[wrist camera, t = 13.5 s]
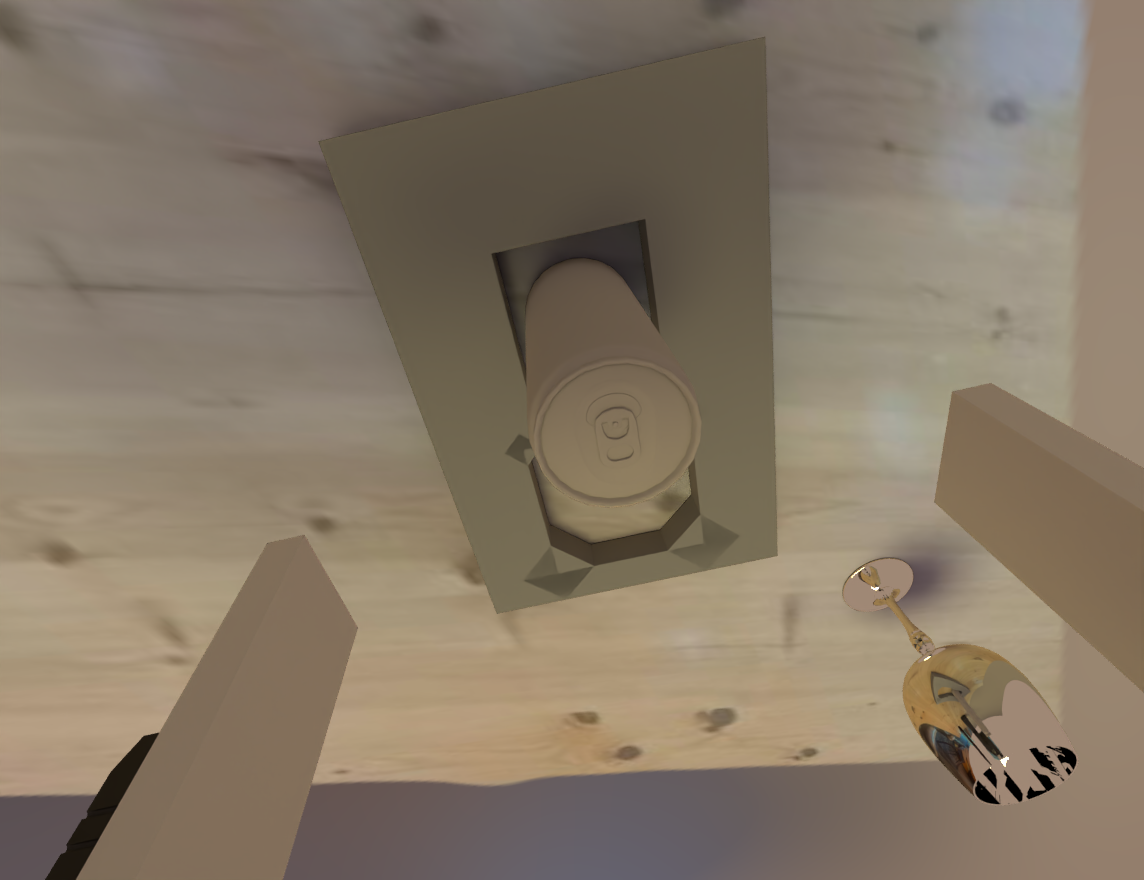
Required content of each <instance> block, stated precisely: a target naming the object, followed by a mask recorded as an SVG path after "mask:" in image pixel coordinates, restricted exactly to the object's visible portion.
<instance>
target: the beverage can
mask: <svg viewBox="0 0 1144 880" xmlns="http://www.w3.org/2000/svg"><path fill="white" fill-rule="evenodd" d="M525 330H526V380H527V422H528V432H529V441H530V444H531V447H532V449H533V451H534V454H535V457H536V459H537V461H538V464H539V466H540V468H541V471H542V473H543V474H544V475H545V476H546V478H547V479H548V480H549V481H550V483H551V484H552V485H553V486H554V487H555V488H556V489H558V490H559V491H561V492H562V493H564V494H565V495H566V496H568V497H569V498H571V499H574V500H577V501H579V502H582V503H584V504H587V505H592V506H600V507H607V508H610V507H622V506H630V505H633V504H637V503H640V502H643V501H646V500H649V499H651V498H653V497H655V496H656V495H658V494H660V493H662V492H664V491H665V490H667V489H668V488H669V487H670V486H672V485H673V484H674V483H675V482H676V481H677V480H678V479H679V478H680V477H682V475H683V474H684V472H685V471H686V470H687V468H688V467H689V465H690V464H691V462H692V461H693V459H694V457H695V454H696V451H697V448H698V446H699V443H700V437H701V424H702V421H701V417H700V413H699V407H698V403H697V399H696V394H695V390H694V388H693V386H692V384H691V382H690V381H689V379H688V377H687V375H686V374H685V372H684V370H683V369H682V367H681V366H680V364H679V363H678V361H677V360H676V358H675V356H674V355H673V353H672V352H671V350H670V349H669V347H668V346H667V344H666V343H665V341H664V340H663V338H662V337H661V335H660V334H659V332H658V331H657V329H656V328H655V326H654V325H653V323H652V322H651V320H650V319H649V317H648V316H647V314H646V312H645V311H644V309H643V308H642V306H641V305H640V303H639V302H638V300H637V299H636V297H635V296H634V294H633V293H632V291H631V290H630V288H629V287H628V285H627V284H626V282H625V281H624V279H623V278H622V277H621V276H620V275H619V274H618V273H617V272H616V271H615V270H614V269H613V268H612V267H610V266H608V265H606V264H604V263H602V262H600V261H597V260H592V259H587V258H576V259H568V260H565V261H563V262H560V263H557V264H555V265H553V266H552V267H550V268H549V269H547V270H546V271H545V272H543V273H542V275H541V276H540V277H539V278H538V279H537V280H536V282H535V283H534V284H533V286H532V288H531V291H530V293H529V295H528V297H527V303H526V309H525Z"/></svg>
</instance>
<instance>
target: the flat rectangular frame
mask: <svg viewBox="0 0 1144 880" xmlns="http://www.w3.org/2000/svg"><path fill="white" fill-rule="evenodd" d="M318 142H319V144H320V147H321V150H322V152H323V155H324V157H325V160H326V163H327V165H328V168H329V171H330V173H331V176H332V179H333V181H334V184H335V187H336V189H337V192H338V195H339V197H340V200H341V202H342V205H343V208H344V210H345V213H346V216H347V218H348V221H349V224H350V226H351V229H352V232H353V234H354V237H355V240H356V242H357V245H358V247H359V250H360V253H361V255H362V258H363V261H364V263H365V266H366V269H367V271H368V274H369V277H370V279H371V282H372V285H373V287H374V290H375V293H376V295H377V298H378V300H379V303H380V306H381V308H382V311H383V314H384V316H385V319H386V322H387V324H388V327H389V330H390V332H391V335H392V338H393V340H394V343H395V345H396V348H397V351H398V353H399V356H400V359H401V361H402V364H403V367H404V369H405V372H406V375H407V377H408V380H409V383H410V385H411V388H412V390H413V393H414V396H415V398H416V401H417V404H418V406H419V409H420V412H421V414H422V417H423V420H424V422H425V425H426V428H427V430H428V433H429V435H430V438H431V441H432V443H433V446H434V449H435V451H436V454H437V457H438V459H439V462H440V465H441V467H442V470H443V473H444V475H445V478H446V481H447V483H448V486H449V488H450V491H451V494H452V496H453V499H454V502H455V504H456V507H457V510H458V512H459V515H460V518H461V520H462V523H463V526H464V528H465V531H466V533H467V536H468V539H469V541H470V544H471V547H472V549H473V552H474V555H475V557H476V560H477V563H478V565H479V568H480V571H481V573H482V576H483V578H484V581H485V584H486V586H487V589H488V592H489V594H490V597H491V600H492V602H493V605H494V608H495V610H496V613H497V614H498V613H503V612H508V611H513V610H517V609H522V608H527V607H532V606H537V605H542V604H547V603H551V602H556V601H561V600H566V599H571V598H576V597H581V596H585V595H590V594H595V593H600V592H605V591H610V590H614V589H619V588H624V587H629V586H634V585H639V584H644V583H648V582H653V581H658V580H663V579H668V578H673V577H678V576H682V575H687V574H692V573H697V572H702V571H707V570H711V569H716V568H721V567H726V566H731V565H736V564H741V563H745V562H750V561H755V560H760V559H765V558H770V557H775V556H778V554H777V511H776V469H775V427H774V385H773V342H772V300H771V258H770V216H769V173H768V131H767V89H766V46H765V37H762V38H758V39H753V40H749V41H745V42H741V43H736V44H732V45H728V46H723V47H719V48H715V49H711V50H706V51H702V52H698V53H694V54H689V55H685V56H681V57H677V58H672V59H668V60H664V61H659V62H655V63H651V64H647V65H642V66H638V67H634V68H630V69H625V70H621V71H617V72H612V73H608V74H604V75H600V76H595V77H591V78H587V79H583V80H578V81H574V82H570V83H566V84H561V85H557V86H553V87H548V88H544V89H540V90H536V91H531V92H527V93H523V94H519V95H514V96H510V97H506V98H501V99H497V100H493V101H489V102H484V103H480V104H476V105H472V106H467V107H463V108H459V109H455V110H450V111H446V112H442V113H437V114H433V115H429V116H425V117H420V118H416V119H412V120H408V121H403V122H399V123H395V124H391V125H386V126H382V127H378V128H373V129H369V130H365V131H361V132H356V133H352V134H348V135H344V136H339V137H335V138H331V139H326V140H322V141H318ZM634 221H638V223H639V231H640V238H641V246H642V253H643V261H644V268H645V276H646V283H647V291H648V298H649V305H650V313H651V320H652V323H653V325H654V326H655V328H656V329H657V331H658V332H659V334H660V335H661V337H662V338H663V340H664V341H665V343H666V344H667V346H668V347H669V349H670V350H671V352H672V353H673V355H674V356H675V358H676V360H677V361H678V363H679V364H680V366H681V367H682V369H683V370H684V372H685V374H686V375H687V377H688V379H689V381H690V382H691V384H692V386H693V388H694V390H695V394H696V399H697V403H698V407H699V413H700V417H701V421H702V424H701V437H700V443H699V446H698V448H697V451H696V454H695V457H694V459H693V461H692V462H691V464H690V465H689V467H688V469H689V478H690V487H691V496H690V497H689V498H688V499H687V500H686V502H685V503H684V504H683V505H682V506H681V507H680V508H679V510H678V511H677V512H676V513H675V514H674V515H673V516H672V517H671V519H670V520H669V521H668V522H667V523H666V524H665V525H664V526H663V528H662V529H661V530H658V531H653V532H648V533H643V534H639V535H634V536H629V537H624V538H619V539H615V540H610V541H605V542H600V543H596V544H589V543H587V542H585V541H583V540H580V539H578V538H576V537H574V536H572V535H570V534H568V533H566V532H564V531H562V530H559V529H557V528H555V527H553V526H551V525H549V521H548V518H547V514H546V511H545V507H544V504H543V500H542V496H541V493H540V489H539V486H538V482H537V479H536V475H535V471H534V468H533V464H532V459H533V458H534V457H535V454H534V451H533V449H532V447H531V444H530V441H529V432H528V422H527V380H526V369H525V365H524V361H523V358H522V354H521V350H520V346H519V342H518V339H517V335H516V331H515V327H514V323H513V319H512V316H511V312H510V308H509V304H508V300H507V296H506V293H505V289H504V285H503V281H502V277H501V274H500V270H499V266H498V262H497V258H496V254H495V253H497V252H501V251H506V250H510V249H515V248H519V247H523V246H528V245H532V244H537V243H541V242H546V241H550V240H554V239H559V238H563V237H568V236H572V235H577V234H581V233H585V232H590V231H594V230H599V229H603V228H607V227H612V226H616V225H621V224H625V223H630V222H634Z"/></svg>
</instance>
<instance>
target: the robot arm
mask: <svg viewBox="0 0 1144 880" xmlns="http://www.w3.org/2000/svg"><path fill="white" fill-rule="evenodd" d="M934 502H935V503H936V504H937V505H938V506H939V507H940V508H941V509H942V510H943V511H945V512H946V513H947V514H948V515H949V516H950V517H951V518H952V519H953V520H954V521H956V522H957V523H958V524H959V525H960V526H961V527H962V528H963V529H964V530H965V531H967V532H968V533H969V534H970V535H971V536H972V537H973V538H974V539H975V540H976V541H978V542H979V543H980V544H981V545H982V546H983V547H984V548H985V549H986V550H987V551H989V552H990V553H991V554H992V555H993V556H994V557H995V558H996V559H997V560H998V561H1000V562H1001V563H1002V564H1003V565H1004V566H1005V567H1006V568H1007V569H1008V570H1009V571H1011V572H1012V573H1013V574H1014V575H1015V576H1016V577H1017V578H1018V579H1019V580H1020V581H1022V582H1023V583H1024V584H1025V585H1026V586H1027V587H1028V588H1029V589H1030V590H1031V591H1033V592H1034V593H1035V594H1036V595H1037V596H1038V597H1039V598H1040V599H1041V600H1042V601H1044V602H1045V603H1046V604H1047V605H1048V606H1049V607H1050V608H1051V609H1052V610H1053V611H1055V612H1056V613H1057V614H1058V615H1059V616H1060V617H1061V618H1062V619H1063V620H1064V621H1065V622H1067V623H1068V624H1069V625H1070V626H1071V627H1072V628H1073V629H1074V630H1075V631H1077V632H1078V633H1079V634H1080V635H1081V636H1082V637H1083V638H1084V639H1085V640H1086V641H1087V642H1089V643H1090V644H1091V645H1092V646H1093V647H1094V648H1095V649H1096V650H1097V651H1098V652H1100V653H1101V654H1102V655H1103V656H1104V657H1105V658H1106V659H1107V660H1108V661H1110V662H1111V663H1112V664H1113V665H1114V666H1115V667H1116V668H1117V669H1118V670H1119V671H1121V672H1122V673H1123V674H1124V675H1125V676H1126V677H1127V678H1128V679H1129V680H1130V681H1131V682H1133V683H1134V684H1135V685H1136V686H1137V687H1138V688H1139V689H1140V690H1141V691H1142V692H1144V468H1143V467H1141V466H1139V465H1138V464H1135V463H1134V462H1132V461H1130V460H1129V459H1127V458H1125V457H1123V456H1121V455H1119V454H1118V453H1116V452H1114V451H1112V450H1111V449H1109V448H1107V447H1105V446H1103V445H1102V444H1100V443H1098V442H1096V441H1094V440H1092V439H1091V438H1089V437H1087V436H1085V435H1084V434H1082V433H1080V432H1078V431H1076V430H1074V429H1073V428H1071V427H1069V426H1067V425H1065V424H1064V423H1062V422H1060V421H1058V420H1056V419H1055V418H1053V417H1051V416H1049V415H1047V414H1046V413H1044V412H1042V411H1040V410H1038V409H1037V408H1035V407H1033V406H1031V405H1029V404H1028V403H1026V402H1024V401H1022V400H1020V399H1019V398H1017V397H1015V396H1013V395H1011V394H1010V393H1008V392H1006V391H1004V390H1002V389H1001V388H999V387H997V386H995V385H993V384H992V383H989V384H984V385H980V386H975V387H971V388H966V389H962V390H957V391H953V392H952V396H951V402H950V408H949V415H948V421H947V427H946V433H945V439H944V445H943V451H942V458H941V464H940V470H939V476H938V482H937V488H936V494H935V500H934ZM357 629H358V627H357V625H356V624H355V622H354V620H353V618H352V617H351V615H350V613H349V611H348V610H347V608H346V606H345V604H344V603H343V601H342V599H341V598H340V596H339V594H338V592H337V591H336V589H335V587H334V585H333V584H332V582H331V580H330V578H329V577H328V575H327V573H326V571H325V570H324V568H323V566H322V565H321V563H320V561H319V559H318V558H317V556H316V554H315V552H314V551H313V549H312V547H311V545H310V544H309V542H308V540H307V538H306V537H305V535H302V536H297V537H293V538H288V539H284V540H279V541H274V542H270V543H267V545H266V546H265V548H264V550H263V552H262V553H261V555H260V557H259V559H258V561H257V562H256V564H255V566H254V568H253V569H252V571H251V573H250V575H249V576H248V578H247V580H246V582H245V583H244V585H243V587H242V589H241V590H240V592H239V594H238V596H237V597H236V599H235V601H234V603H233V604H232V606H231V608H230V610H229V612H228V613H227V615H226V617H225V619H224V620H223V622H222V624H221V626H220V627H219V629H218V631H217V633H216V634H215V636H214V638H213V640H212V641H211V643H210V645H209V647H208V648H207V650H206V652H205V654H204V655H203V657H202V659H201V661H200V662H199V664H198V666H197V668H196V670H195V671H194V673H193V675H192V677H191V678H190V680H189V682H188V684H187V685H186V687H185V689H184V691H183V692H182V694H181V696H180V698H179V699H178V701H177V703H176V705H175V706H174V708H173V710H172V712H171V713H170V715H169V717H168V719H167V721H166V722H165V724H164V726H163V728H162V729H161V731H160V733H155V734H151V735H146V736H143V737H142V739H141V740H140V741H139V742H138V743H137V744H136V745H135V746H134V747H133V748H132V749H131V751H130V752H129V753H128V754H127V755H126V756H125V757H124V758H123V759H122V760H121V761H120V763H119V764H118V765H117V766H116V767H115V768H114V769H113V770H112V771H111V773H110V774H109V776H108V777H107V779H106V781H105V782H104V784H103V786H102V787H101V789H100V791H99V792H98V794H97V796H96V797H95V799H94V801H93V802H92V804H91V805H90V807H89V809H88V810H87V813H88V816H87V818H86V819H82V820H81V822H80V824H79V825H78V827H77V828H76V830H75V832H74V833H73V835H72V837H71V838H70V840H69V841H68V843H67V850H66V852H65V853H63V854H61V855H60V856H59V858H58V860H57V861H56V863H55V864H54V866H53V868H52V869H51V871H50V873H49V874H48V876H47V878H46V879H45V880H283V877H284V874H285V870H286V867H287V864H288V860H289V857H290V853H291V850H292V847H293V843H294V840H295V836H296V833H297V830H298V826H299V823H300V819H301V817H302V813H303V809H304V806H305V803H306V800H307V796H308V793H309V790H310V786H311V783H312V780H313V776H314V773H315V770H316V766H317V763H318V760H319V756H320V753H321V749H322V746H323V743H324V739H325V736H326V733H327V729H328V726H329V723H330V719H331V716H332V713H333V709H334V706H335V702H336V699H337V696H338V692H339V689H340V686H341V682H342V679H343V676H344V672H345V669H346V666H347V662H348V659H349V655H350V652H351V649H352V645H353V642H354V639H355V635H356V632H357Z"/></svg>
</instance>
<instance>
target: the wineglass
mask: <svg viewBox="0 0 1144 880" xmlns="http://www.w3.org/2000/svg"><path fill="white" fill-rule="evenodd" d="M912 583H913V571H912V569H911V567H910V566H909V565H908V564H907V563H906V562H904V561H902V560H899V559H895V558H884V559H879V560H875V561H872V562H869V563H867V564H865V565H863V566H862V567H860V568H859V569H857V570H856V571H855V572H854V573H853V574H852V575H851V576H850V577H849V578H848V580H847V581H846V583H845V585H844V588H843V598H844V601H845V602H846V604H847V605H848V606H849V607H851V608H852V609H854V610H857V611H862V612H872V611H878V610H881V609H884V608H887V607H890V609H891V610H892V611H893V612H894V614H895V615H896V616H897V617H898V619H899V620H900V621H901V623H902V624H903V626H904V627H905V629H906V631H907V633H908V636H909V640H910V642H911V643H912V646H913V647H914V648H915V649H916V650H917V651H918V652H919V653H920V654H921V655H922V656H921V657H920V658H919V659H917V660H916V661H915V662H914V663H913V665H912V666H911V667H910V669H909V670H908V672H907V673H906V676H905V678H904V683H903V690H902V692H903V702H904V705H905V709H906V711H907V714H908V716H909V718H910V720H911V722H912V724H913V726H914V728H915V729H916V731H917V733H918V734H919V735H920V737H921V738H922V740H923V741H924V743H925V744H926V745H927V746H928V748H929V749H930V750H931V751H932V753H933V754H934V755H935V756H936V757H937V759H938V760H939V761H940V762H941V763H942V764H943V765H944V766H945V767H946V768H947V770H948V771H949V772H950V773H951V774H952V775H953V776H954V777H955V778H956V779H957V780H958V781H959V782H960V783H961V784H962V785H963V786H964V787H965V788H966V789H967V790H968V791H969V792H970V793H971V794H972V795H973V796H974V797H976V799H977V800H979V801H980V802H983V803H985V804H990V805H1010V804H1017V803H1021V802H1025V801H1028V800H1031V799H1034V798H1037V797H1039V796H1041V795H1044V794H1046V793H1048V792H1050V791H1051V790H1053V789H1055V788H1056V787H1058V786H1059V785H1061V784H1062V783H1063V782H1065V781H1066V780H1067V779H1068V778H1069V777H1070V776H1071V774H1073V772H1074V771H1075V769H1076V768H1077V765H1078V761H1079V760H1078V755H1077V753H1076V751H1075V749H1074V747H1073V746H1072V744H1071V742H1070V740H1069V738H1068V736H1067V735H1066V733H1065V731H1064V730H1063V728H1062V727H1061V725H1060V723H1059V721H1058V720H1057V718H1056V716H1055V715H1054V713H1053V712H1052V710H1051V709H1050V707H1049V706H1048V704H1047V703H1046V701H1045V700H1044V699H1043V697H1042V696H1041V694H1040V693H1039V692H1038V690H1037V689H1036V688H1035V687H1034V686H1033V685H1032V683H1031V682H1030V681H1029V680H1028V679H1027V677H1026V676H1025V675H1024V674H1023V673H1022V672H1020V671H1019V670H1018V669H1017V668H1016V667H1015V666H1014V665H1012V664H1011V663H1010V662H1009V661H1008V660H1006V659H1005V658H1003V657H1002V656H1000V655H999V654H997V653H995V652H993V651H991V650H989V649H986V648H984V647H980V646H976V645H970V644H951V645H945V646H941V647H938V648H936V649H935V645H934V643H933V642H932V640H931V638H930V637H928V636H927V635H926V634H925V633H924V632H922V631H921V630H919V629H918V628H917V627H916V626H915V625H914V624H913V623H912V622H911V621H910V620H909V619H908V618H907V616H906V615H905V614H904V613H903V611H902V610H901V609H900V607H899V606H898V604H897V603H896V602H897V601H899V600H900V599H901V598H902V597H903V596H904V595H905V594H906V593H907V592H908V591H909V589H910V587H911V585H912Z"/></svg>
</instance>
